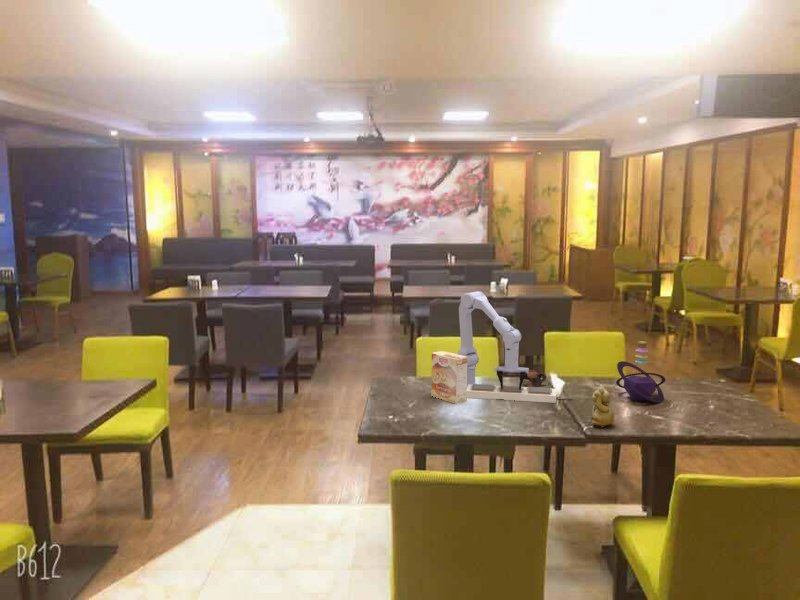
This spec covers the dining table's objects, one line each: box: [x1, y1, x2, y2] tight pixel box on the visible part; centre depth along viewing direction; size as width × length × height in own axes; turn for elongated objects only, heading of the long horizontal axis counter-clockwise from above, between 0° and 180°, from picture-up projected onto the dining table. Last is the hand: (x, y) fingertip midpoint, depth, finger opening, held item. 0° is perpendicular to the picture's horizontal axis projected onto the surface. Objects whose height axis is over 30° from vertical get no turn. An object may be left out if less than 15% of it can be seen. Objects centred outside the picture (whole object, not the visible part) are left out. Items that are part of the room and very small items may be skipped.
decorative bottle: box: [615, 340, 667, 404], centre depth 272 cm, size 22×21×25 cm
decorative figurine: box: [591, 383, 615, 428], centre depth 240 cm, size 10×8×15 cm
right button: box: [527, 386, 551, 395], centre depth 275 cm, size 9×7×2 cm
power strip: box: [467, 384, 573, 404], centre depth 277 cm, size 45×11×3 cm, turn 79°
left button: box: [472, 383, 495, 392], centre depth 279 cm, size 9×7×2 cm
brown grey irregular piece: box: [524, 369, 548, 387], centre depth 296 cm, size 12×10×8 cm
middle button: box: [499, 385, 523, 393], centre depth 277 cm, size 9×7×2 cm
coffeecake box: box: [430, 350, 468, 405], centre depth 273 cm, size 15×7×20 cm, turn 42°
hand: (511, 388), depth 277 cm, fingers open, 7 cm apart
